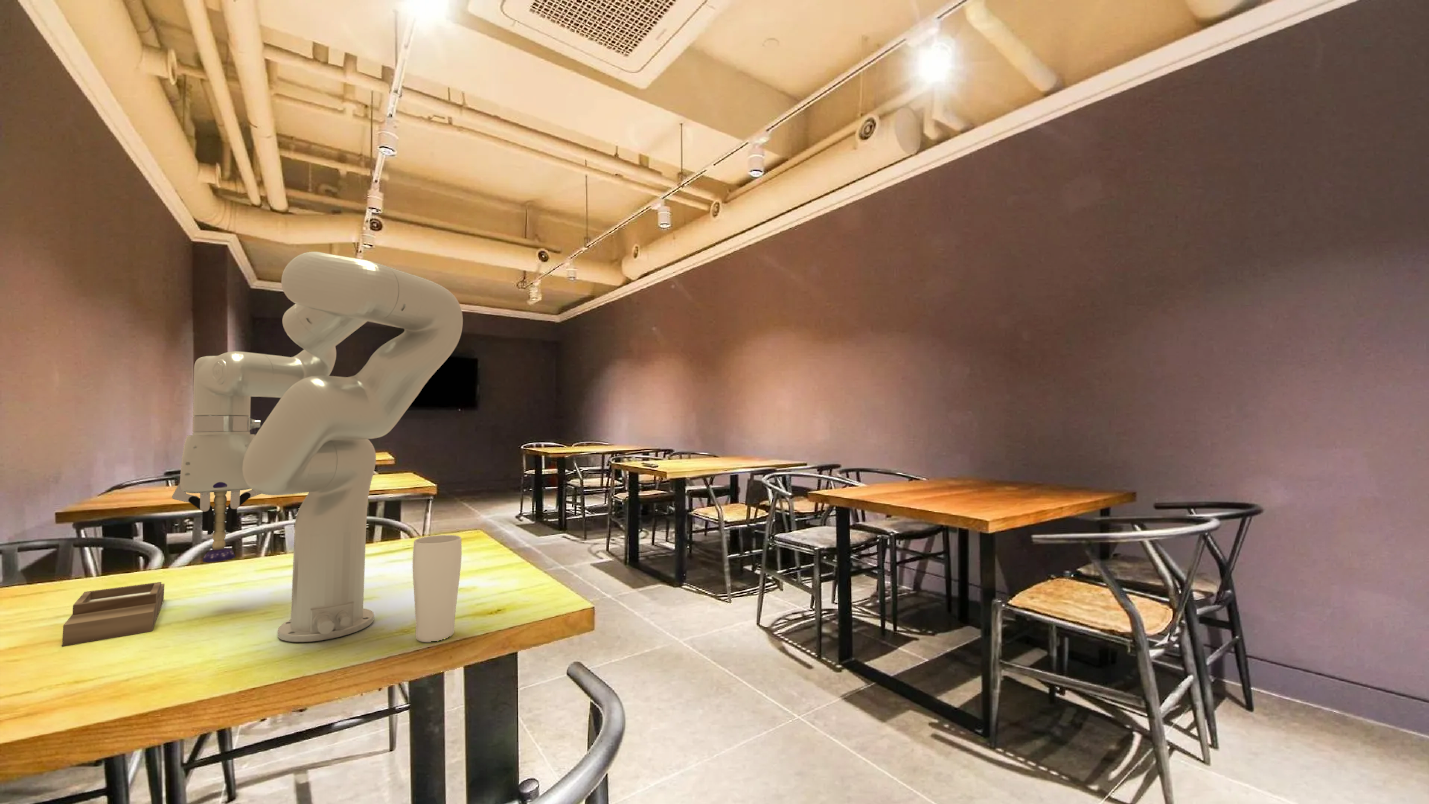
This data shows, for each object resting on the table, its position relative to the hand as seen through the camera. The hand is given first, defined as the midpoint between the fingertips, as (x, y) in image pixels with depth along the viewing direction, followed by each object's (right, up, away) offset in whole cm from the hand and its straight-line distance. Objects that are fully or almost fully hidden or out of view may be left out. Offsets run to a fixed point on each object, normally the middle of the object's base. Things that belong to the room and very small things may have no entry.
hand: (219, 531), depth 95 cm
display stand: (-12, -13, -5) cm, 19 cm away
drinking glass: (+43, -14, -11) cm, 47 cm away
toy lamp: (0, -5, 0) cm, 5 cm away
